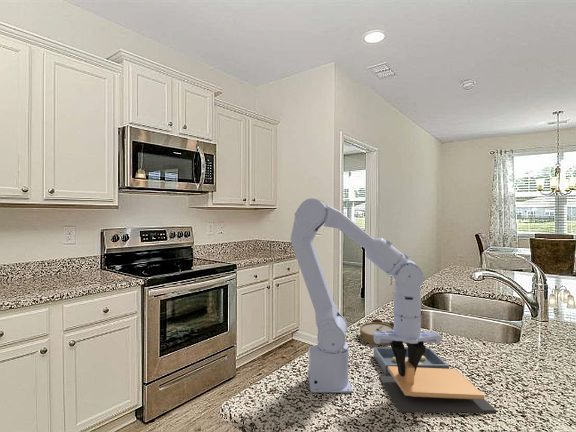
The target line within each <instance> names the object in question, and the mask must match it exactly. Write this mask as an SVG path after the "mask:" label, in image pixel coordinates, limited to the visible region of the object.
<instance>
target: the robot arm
mask: <svg viewBox="0 0 576 432" xmlns="http://www.w3.org/2000/svg"><path fill="white" fill-rule="evenodd" d="M322 226H324V227H325V228H332V229H337V230H339V231H340V232H341V233H342V234H345V235H346V236H347V237H348V238H350V239H351V240H353V241H354V242H355V243H356V244H357V245H359V246H360V247H362V248H363V249H364V253H365V257H366V259H368V260H369V261H371V262H372V264H374V265H376V267H378V268H379V269H380V270H382V271H383V272H384V273H385V274H387V275H389V276H393V278H394V280H395V282H394V283H395V284H394V293H393V323H394V330H390V331H383V332H374V342H375V343H376V344H380V343H389V344H390V347H391V348H392V350H393V353H394V355H395V358H396V362H397V366H398V373H399V374H400V375H401V376H402V377H404V376H405V357H406V352H407V350H406V349H405V348H408V361H409V362H410V363H411V364H412V366H413V367H414V368H415V372H416V369H417V366H418V363H419V361H420V359H421V357H422V356H423V354H424V353H425V351H426V348H427V347H426V346H425V345H424V343H425V344H426V343H427V344H429V343H430V344H436V345H441V344H442V340H441V339H442V336H441V334H439V333H438V332H437V331H436V332H435V331H425V330H424V331H422V329H421V328H422V327H421V324H422V323H421V321H422V320H421V319H422V317H421V316H422V315H421V314H422V295H421V290H422V288H421V286H422V285H423V283H424V280H425V276H424V274H423V271H422V269H421V268H420V266H419V265H418V264H417V263H416V262H414V260H413V259H411V258H410V256H409V255H408V254H407V253H405V254H404V253H402V252H401V251H400V250H398V249H397V248H396V247H394V245H393V242H392V241H391V240H390V239H388V238H387V239H384V237H376V238H374V237H372V236H371V235H370V234H369V233H367V232H366V231H365V230H364V229H363V228H361V227H360V226H359V225H358V224H356V223H355V222H354V221H353V220H351V219H350V218H349V217H348V216H347V215H346V214H344V212H341V211H340V210H338V209H336V208H335V207H332V206H331V205H328V203H326V202H325V201H323V200H320V199H317V198H308V199H305V200H303V201H302V202H301V203H300V205H299V206H298V208H297V210H296V211H295V212H294V222H293V226H292V230H291V234H290V243H291V245H292V248H293V249H292V250H293V251H294V254H295V258H296V261H297V263H298V266H299V269H300V272H301V274H302V277H303V280H304V283H305V286H306V289H307V291H308V294H309V298H310V300H311V304H312V305H313V306H312V307H313V309H314V314H315V324H316V328H317V344H316V345H312V346H311V345H309V347H308V367H307V368H308V370H307V379H308V383H309V389H310V390H309V391H310V392H311V393H327V394H328V393H338V394H339V393H344V394H345V393H346V394H347V393H353V388H352V385H351V382H350V380H349V344H348V343H347V341H346V340H347V338H346V336H347V332H348V328H349V327H348V326H349V325H348V322H347V320H346V318H345V317H344V316H343V315H342V314H341V313H340V310H339V308H338V305H336V303H335V301H334V299H333V295H332V292H331V290H330V287H329V284H328V281H327V279H326V276H325V272H324V271H323V267H322V265H321V262H320V259H319V256H318V253H317V251H316V250H317V249H316V247H315V245H314V238H315V237H316V235H317V233H318V231H319V229H320V228H321V227H322ZM404 343H406V344H407V345H406V346H407V347H405V344H404ZM414 376H415V373H414Z"/></svg>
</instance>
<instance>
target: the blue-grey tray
mask: <svg viewBox="0 0 576 432" xmlns="http://www.w3.org/2000/svg"><path fill="white" fill-rule="evenodd" d="M404 348H405V349H406V350H407V352H406V357H405V358H407V360H408V347H404ZM373 357H374V359H375V361H376V362H377V364H378V365H379V367H380V368H381V371H382V372H383V373H384V376H392V375H391V374H390V372H389V371H388V366H396V367H398V366H397V362H396V358H395V355H394V353H393V350H392V348H391V346H390V347H387V346H386V347H380V346H378V347H376V346H375V347H373ZM417 367H418V368H441V369H450V365H449V364H448V363H447V362H446V361H445V360H444V359H443V358H442V357H441V356H439V354H437V353H436V352H435V351H434V350H433V349H432V348H431V347H426V351H425V353H424V354H423V356H422V357H421V359H420V361H419V363H418V366H417Z"/></svg>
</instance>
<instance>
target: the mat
mask: <svg viewBox="0 0 576 432" xmlns="http://www.w3.org/2000/svg"><path fill="white" fill-rule="evenodd" d="M378 378H379V380H380V383H382V385H383V386H384V387H383V388H384V389H385V391H386V392H387V394H388V395H389V397H390V400H391V401H392V402H393V404H394V406H395V407H396V410H397V411H398V413H487V414H488V413H491V414H492V413H495V414H496V413H497V408H495V407H494V406H493V405H492V404H490V403H489V401H487V400H486V399H485V398H484V399H473V398H472V399H456V398H433V397H411V396H405V395H404V393H403V392H402V390H401V389H400V387H399V386H398V384H397V383H396V381H395V380H394V378H393V377H392V375H379V377H378Z"/></svg>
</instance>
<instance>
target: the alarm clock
mask: <svg viewBox="0 0 576 432" xmlns="http://www.w3.org/2000/svg"><path fill="white" fill-rule="evenodd" d="M390 330H394V322H388V321H382V319H380V318H375V319H373V320H372V321H370V322H365V323H363V324H361V325H360V327H359V335H358V338H360V340H361V341H363V342H364V343H367V344H371V345H375V346H389V345H390V344H389V343H380V344H376V343H375V342H374V332H383V331H390Z"/></svg>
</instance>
